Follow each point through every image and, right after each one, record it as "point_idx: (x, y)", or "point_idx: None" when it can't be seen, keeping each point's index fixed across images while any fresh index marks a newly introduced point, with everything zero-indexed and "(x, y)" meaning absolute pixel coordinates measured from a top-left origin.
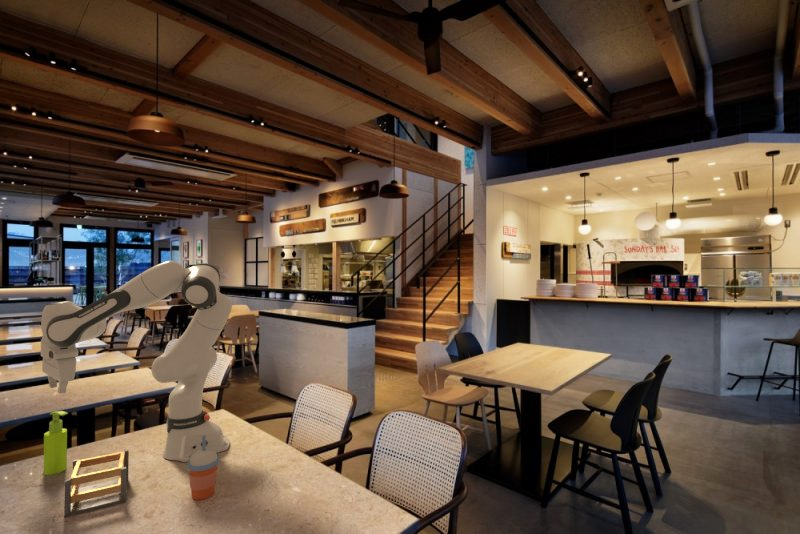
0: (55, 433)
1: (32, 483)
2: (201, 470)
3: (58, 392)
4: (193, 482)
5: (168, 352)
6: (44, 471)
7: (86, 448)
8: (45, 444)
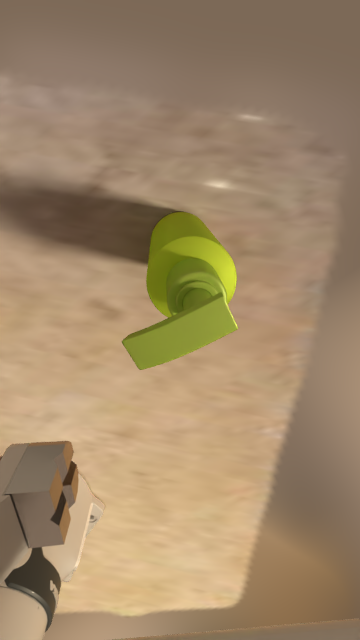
0: (159, 276)
1: (129, 171)
2: None
3: (65, 441)
4: None
5: None
6: (174, 213)
7: (279, 341)
8: (174, 230)
